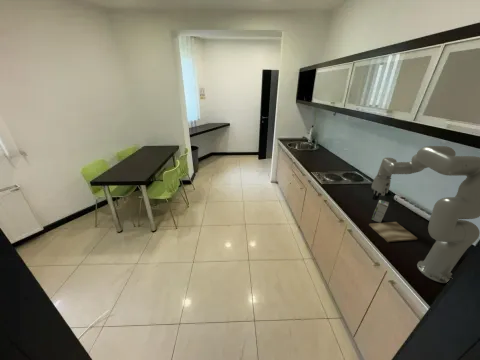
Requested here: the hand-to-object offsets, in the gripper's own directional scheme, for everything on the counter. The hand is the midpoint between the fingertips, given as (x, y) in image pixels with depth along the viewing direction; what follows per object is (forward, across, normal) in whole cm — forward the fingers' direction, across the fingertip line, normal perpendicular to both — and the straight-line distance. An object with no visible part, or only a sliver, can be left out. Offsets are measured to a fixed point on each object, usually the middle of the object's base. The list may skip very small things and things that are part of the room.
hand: (375, 199), depth 139 cm
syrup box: (+13, -7, 0) cm, 14 cm away
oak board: (+12, -20, 0) cm, 24 cm away
